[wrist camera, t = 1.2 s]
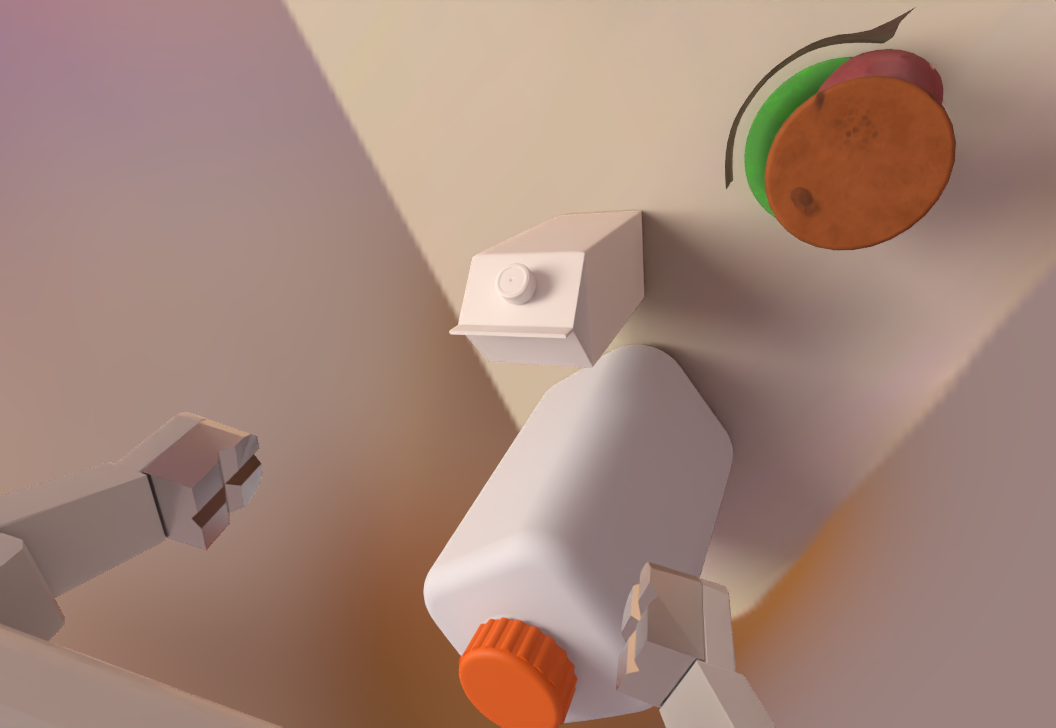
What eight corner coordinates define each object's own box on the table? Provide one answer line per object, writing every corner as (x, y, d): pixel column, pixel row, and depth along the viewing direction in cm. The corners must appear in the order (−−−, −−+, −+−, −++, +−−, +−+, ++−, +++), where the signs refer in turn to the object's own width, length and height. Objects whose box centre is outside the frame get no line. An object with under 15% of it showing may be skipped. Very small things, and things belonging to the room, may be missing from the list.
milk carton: (645, 297, 46) (572, 397, 30) (564, 296, 49) (459, 388, 33) (642, 209, 43) (560, 268, 27) (557, 214, 46) (438, 271, 30)
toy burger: (1001, 97, 32) (1138, 90, 20) (837, 267, 39) (863, 341, 27) (831, -10, 34) (859, -80, 21) (700, 173, 40) (663, 203, 28)
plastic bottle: (528, 397, 54) (335, 616, 31) (654, 321, 46) (522, 539, 23) (616, 515, 56) (495, 809, 32) (754, 461, 48) (725, 802, 24)
